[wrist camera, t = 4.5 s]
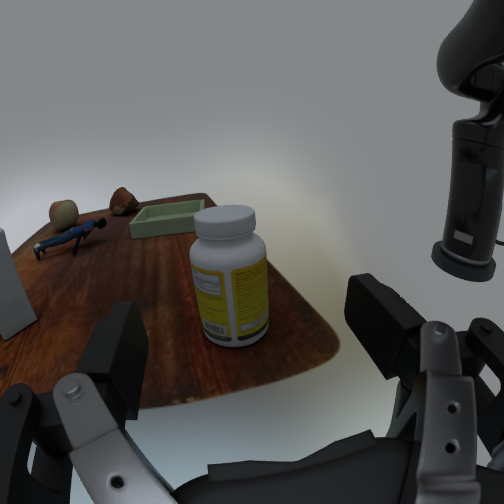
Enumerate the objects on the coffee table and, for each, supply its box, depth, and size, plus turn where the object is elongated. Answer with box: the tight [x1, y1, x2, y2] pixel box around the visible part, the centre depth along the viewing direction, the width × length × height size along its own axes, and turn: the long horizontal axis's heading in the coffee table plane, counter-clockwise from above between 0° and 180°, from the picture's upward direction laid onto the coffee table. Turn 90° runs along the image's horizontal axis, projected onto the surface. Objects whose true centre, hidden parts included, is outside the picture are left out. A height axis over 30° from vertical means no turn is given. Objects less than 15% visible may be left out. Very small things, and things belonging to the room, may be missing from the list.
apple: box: [49, 200, 79, 230], centre depth 60 cm, size 9×9×8 cm
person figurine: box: [34, 218, 107, 260], centre depth 46 cm, size 11×4×18 cm
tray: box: [129, 200, 205, 239], centre depth 56 cm, size 15×14×3 cm
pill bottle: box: [190, 205, 269, 347], centre depth 23 cm, size 6×6×11 cm
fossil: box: [109, 187, 139, 215], centre depth 70 cm, size 13×8×10 cm
